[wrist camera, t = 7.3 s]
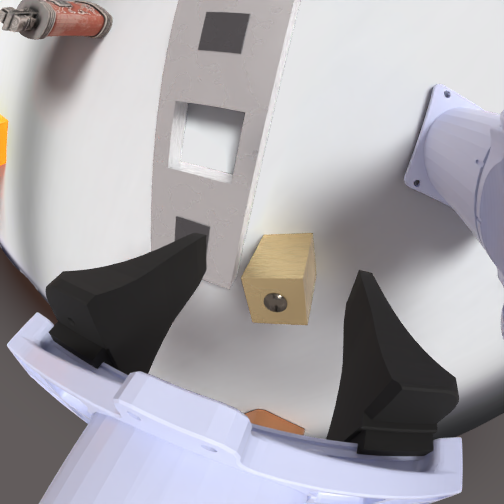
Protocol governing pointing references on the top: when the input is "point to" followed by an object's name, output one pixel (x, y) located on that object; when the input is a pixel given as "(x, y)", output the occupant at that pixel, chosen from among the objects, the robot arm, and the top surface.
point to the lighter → (56, 19)
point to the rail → (224, 96)
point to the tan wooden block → (281, 279)
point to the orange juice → (3, 139)
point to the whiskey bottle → (273, 422)
